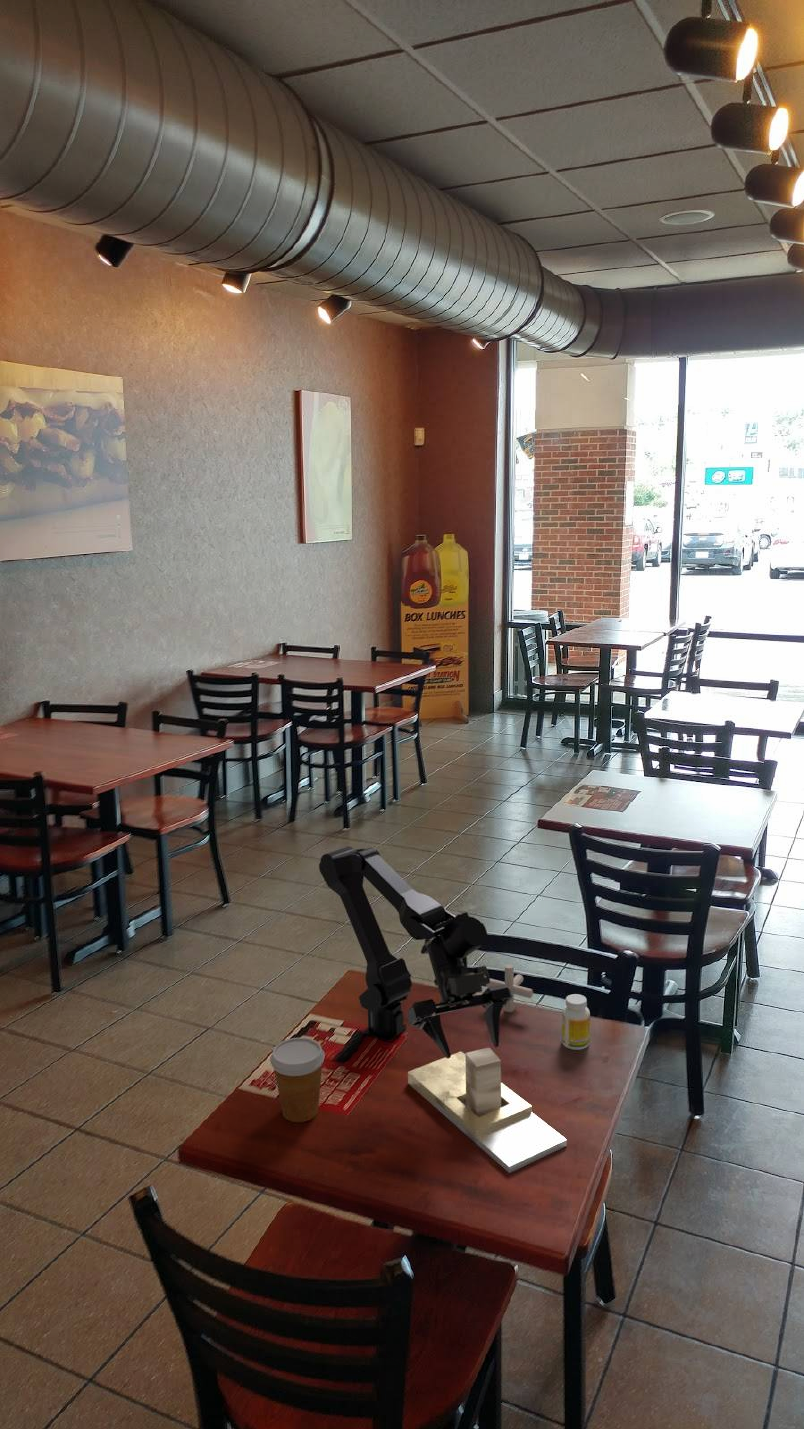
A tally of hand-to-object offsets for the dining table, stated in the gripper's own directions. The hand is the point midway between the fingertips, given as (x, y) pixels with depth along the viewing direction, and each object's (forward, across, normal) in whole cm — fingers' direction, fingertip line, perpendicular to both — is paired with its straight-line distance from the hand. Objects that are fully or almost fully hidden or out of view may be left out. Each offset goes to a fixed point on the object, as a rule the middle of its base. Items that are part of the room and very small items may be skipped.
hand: (473, 1052), depth 175 cm
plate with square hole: (+10, 0, +4) cm, 10 cm away
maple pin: (+10, 0, +4) cm, 10 cm away
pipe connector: (-12, +20, +26) cm, 35 cm away
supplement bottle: (0, +26, +14) cm, 30 cm away
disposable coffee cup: (+1, -30, +13) cm, 32 cm away
